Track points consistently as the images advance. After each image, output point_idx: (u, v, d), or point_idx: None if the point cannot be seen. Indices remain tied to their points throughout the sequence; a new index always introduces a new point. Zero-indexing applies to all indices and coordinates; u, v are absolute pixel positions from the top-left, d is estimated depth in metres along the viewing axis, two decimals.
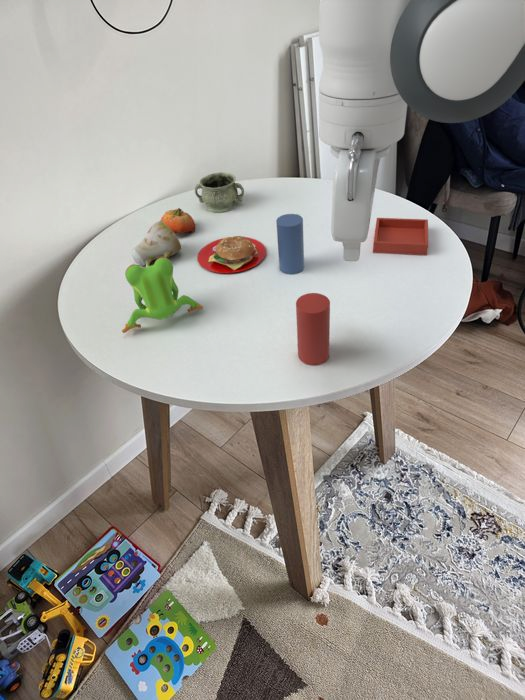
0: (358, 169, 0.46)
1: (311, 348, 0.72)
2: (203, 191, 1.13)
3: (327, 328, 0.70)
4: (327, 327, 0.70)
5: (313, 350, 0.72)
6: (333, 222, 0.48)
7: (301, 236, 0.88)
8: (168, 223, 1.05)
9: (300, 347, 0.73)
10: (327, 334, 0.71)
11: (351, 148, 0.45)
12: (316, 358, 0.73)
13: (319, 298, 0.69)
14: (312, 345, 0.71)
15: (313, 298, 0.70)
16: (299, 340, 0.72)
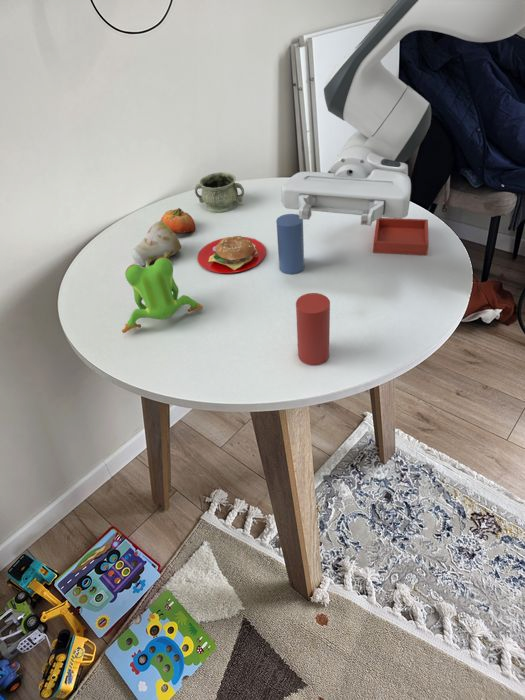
0: None
1: (311, 348, 0.72)
2: (203, 191, 1.13)
3: (327, 328, 0.70)
4: (327, 327, 0.70)
5: (313, 350, 0.72)
6: None
7: (301, 236, 0.88)
8: (168, 223, 1.05)
9: (300, 347, 0.73)
10: (327, 334, 0.71)
11: None
12: (316, 358, 0.73)
13: (319, 298, 0.69)
14: (312, 345, 0.71)
15: (313, 298, 0.70)
16: (299, 340, 0.72)
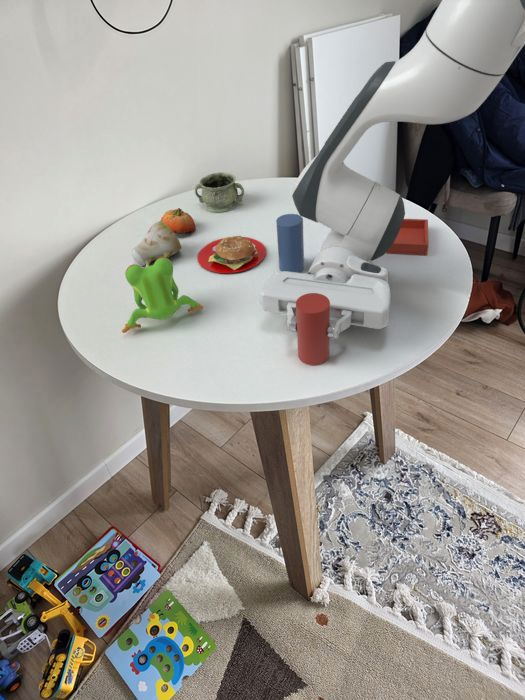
0: None
1: (311, 348, 0.72)
2: (203, 191, 1.13)
3: (327, 328, 0.70)
4: (327, 327, 0.70)
5: (313, 350, 0.72)
6: None
7: (301, 236, 0.88)
8: (168, 223, 1.05)
9: (299, 347, 0.73)
10: None
11: None
12: (316, 358, 0.73)
13: (319, 298, 0.69)
14: (312, 345, 0.71)
15: (313, 298, 0.70)
16: (299, 340, 0.72)
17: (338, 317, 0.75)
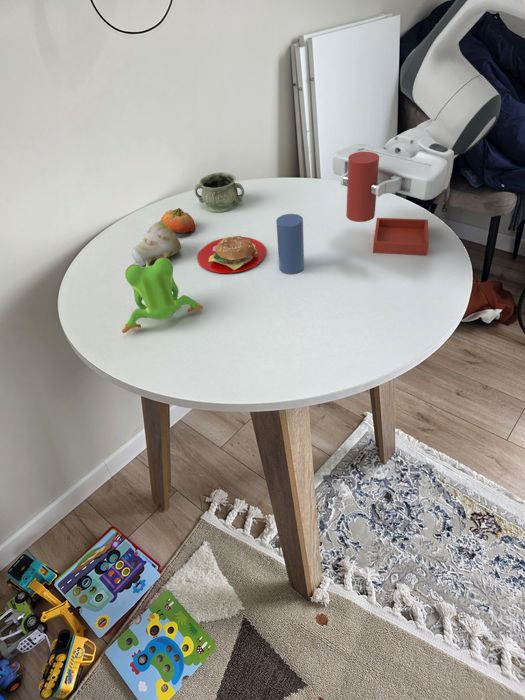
0: None
1: (354, 202, 0.80)
2: (203, 191, 1.13)
3: (371, 184, 0.78)
4: (371, 183, 0.78)
5: (356, 204, 0.80)
6: None
7: (301, 236, 0.88)
8: (168, 223, 1.05)
9: (347, 201, 0.82)
10: None
11: None
12: (358, 214, 0.81)
13: (371, 155, 0.77)
14: (355, 198, 0.80)
15: (366, 154, 0.78)
16: (347, 194, 0.81)
17: None
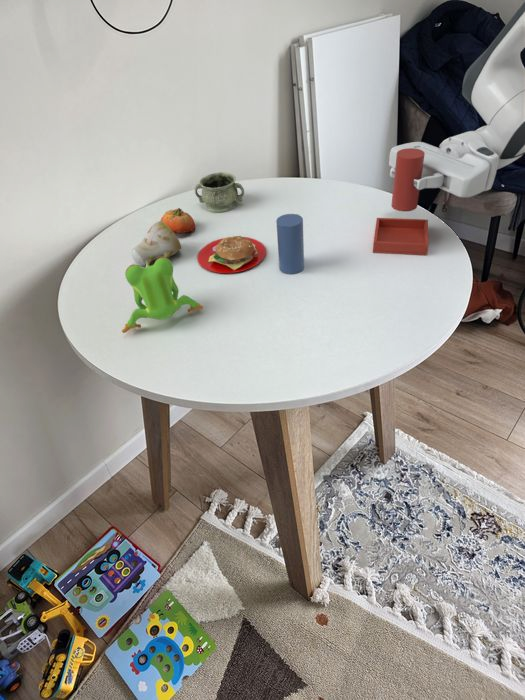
0: None
1: (398, 193, 0.90)
2: (203, 191, 1.13)
3: (414, 178, 0.88)
4: (414, 177, 0.87)
5: (399, 194, 0.90)
6: None
7: (301, 236, 0.88)
8: (168, 223, 1.05)
9: None
10: None
11: None
12: (400, 204, 0.91)
13: (418, 152, 0.87)
14: (399, 189, 0.90)
15: (414, 151, 0.87)
16: (393, 185, 0.91)
17: None
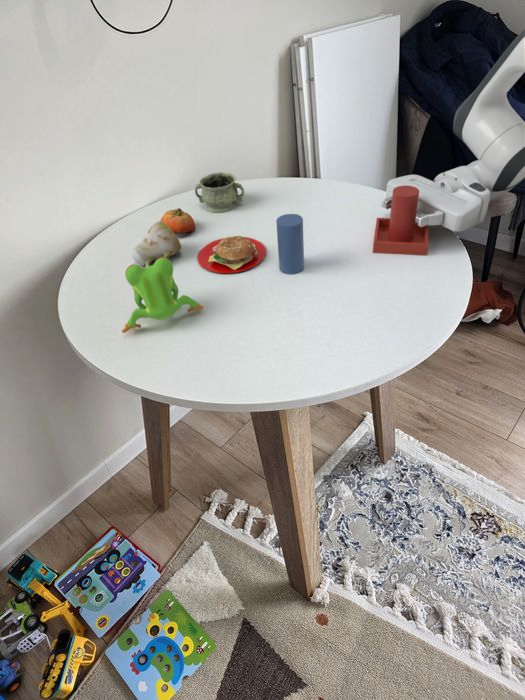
0: None
1: (394, 227, 0.95)
2: (203, 191, 1.13)
3: (409, 214, 0.92)
4: (409, 213, 0.92)
5: (395, 228, 0.95)
6: None
7: (301, 236, 0.88)
8: (168, 223, 1.05)
9: (389, 225, 0.97)
10: (409, 220, 0.93)
11: None
12: (396, 237, 0.96)
13: (413, 190, 0.91)
14: (395, 224, 0.94)
15: (409, 189, 0.92)
16: None
17: None
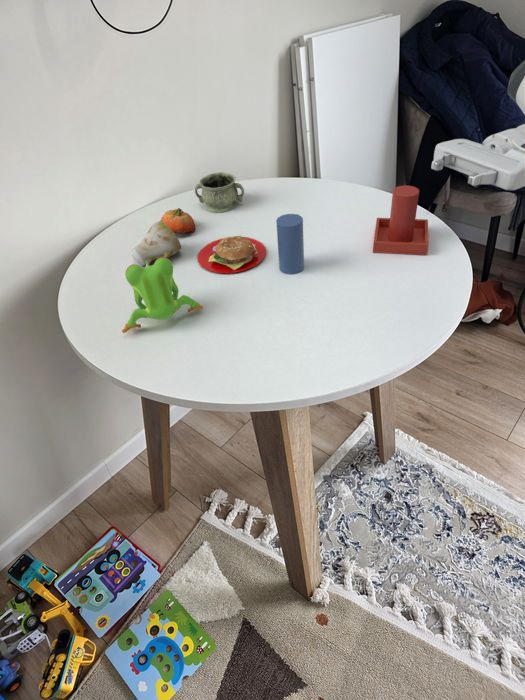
0: None
1: (394, 227, 0.95)
2: (203, 191, 1.13)
3: (409, 214, 0.92)
4: (409, 213, 0.92)
5: (395, 228, 0.95)
6: None
7: (301, 236, 0.88)
8: (168, 223, 1.05)
9: (389, 225, 0.97)
10: (409, 220, 0.93)
11: None
12: (396, 237, 0.96)
13: (413, 190, 0.91)
14: (395, 224, 0.94)
15: (409, 189, 0.92)
16: None
17: None
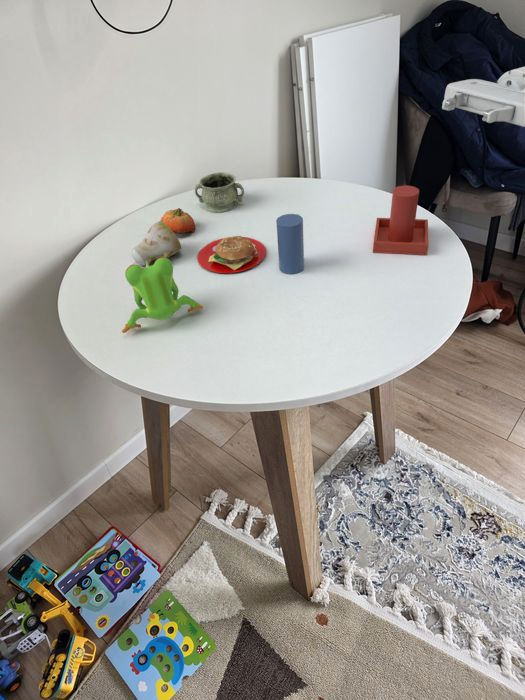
0: None
1: (394, 227, 0.95)
2: (203, 191, 1.13)
3: (409, 214, 0.92)
4: (409, 213, 0.92)
5: (395, 228, 0.95)
6: None
7: (301, 236, 0.88)
8: (168, 223, 1.05)
9: (389, 225, 0.97)
10: (409, 220, 0.93)
11: None
12: (396, 237, 0.96)
13: (413, 190, 0.91)
14: (395, 224, 0.94)
15: (409, 189, 0.92)
16: None
17: None
